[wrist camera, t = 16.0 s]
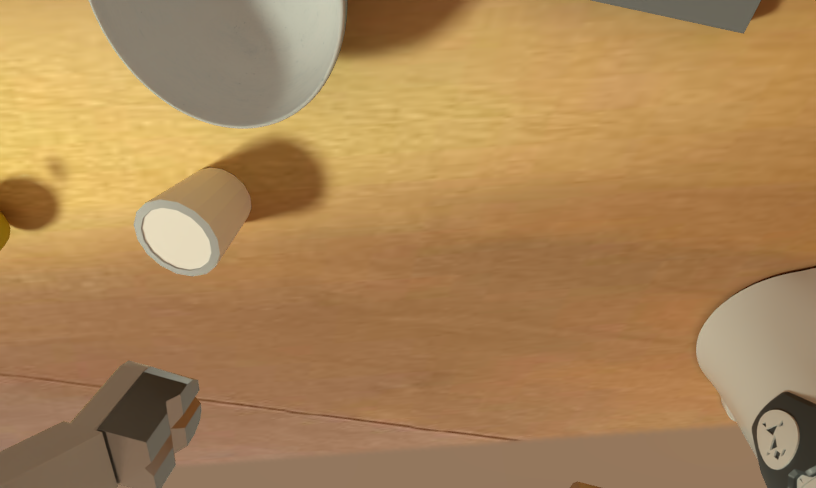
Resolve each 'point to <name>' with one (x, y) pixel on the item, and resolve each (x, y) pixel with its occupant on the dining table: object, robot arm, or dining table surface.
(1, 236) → the lemon
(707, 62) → the dining table surface
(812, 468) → the robot arm
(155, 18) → the chinaware
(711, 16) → the stand board
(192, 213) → the shot glass
